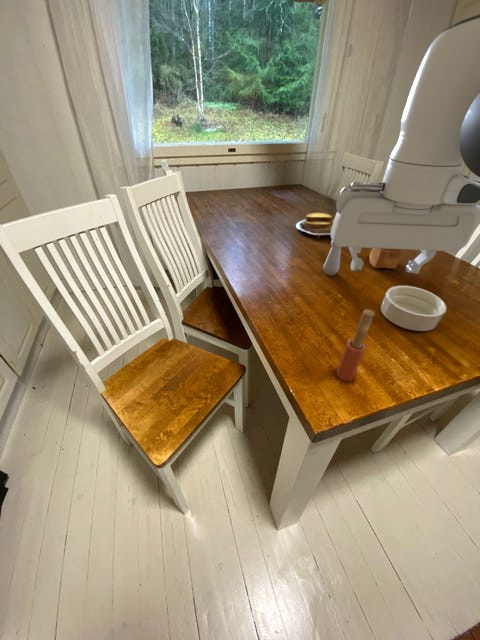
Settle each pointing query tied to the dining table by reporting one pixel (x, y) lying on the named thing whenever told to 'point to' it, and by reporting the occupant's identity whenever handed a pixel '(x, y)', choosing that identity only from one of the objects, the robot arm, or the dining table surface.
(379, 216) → the robot arm
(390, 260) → the coffee package
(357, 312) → the dining table surface
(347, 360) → the utensil holder
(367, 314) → the stirring stick
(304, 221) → the food on plate
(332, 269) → the salt shaker
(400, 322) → the bowl
